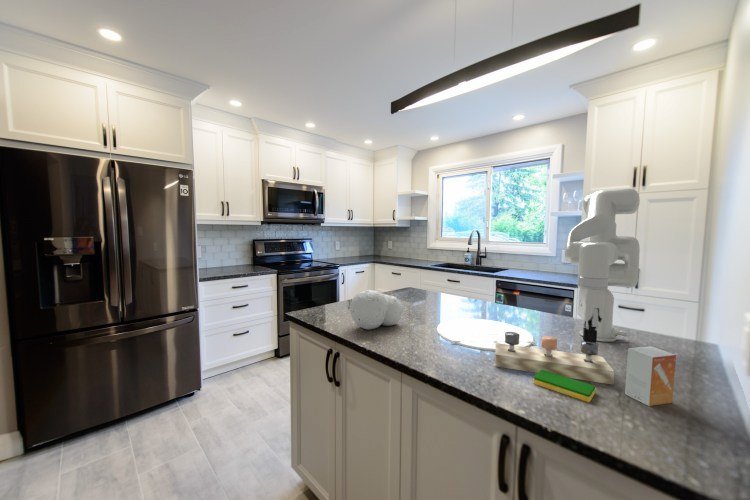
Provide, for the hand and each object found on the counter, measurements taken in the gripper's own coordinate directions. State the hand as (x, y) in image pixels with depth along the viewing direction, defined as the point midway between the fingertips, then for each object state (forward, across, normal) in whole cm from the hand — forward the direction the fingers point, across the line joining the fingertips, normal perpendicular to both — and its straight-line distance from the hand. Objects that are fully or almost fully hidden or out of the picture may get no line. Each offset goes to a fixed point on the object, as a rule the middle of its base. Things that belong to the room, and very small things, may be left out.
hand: (589, 341), depth 95 cm
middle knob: (+7, 0, -11) cm, 13 cm away
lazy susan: (+11, -27, -32) cm, 43 cm away
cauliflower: (+11, -19, -79) cm, 82 cm away
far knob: (+7, 0, -22) cm, 23 cm away
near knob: (+7, 0, 0) cm, 7 cm away
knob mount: (+10, 0, -11) cm, 15 cm away
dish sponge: (+11, +13, -9) cm, 19 cm away
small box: (+11, +11, +11) cm, 19 cm away
